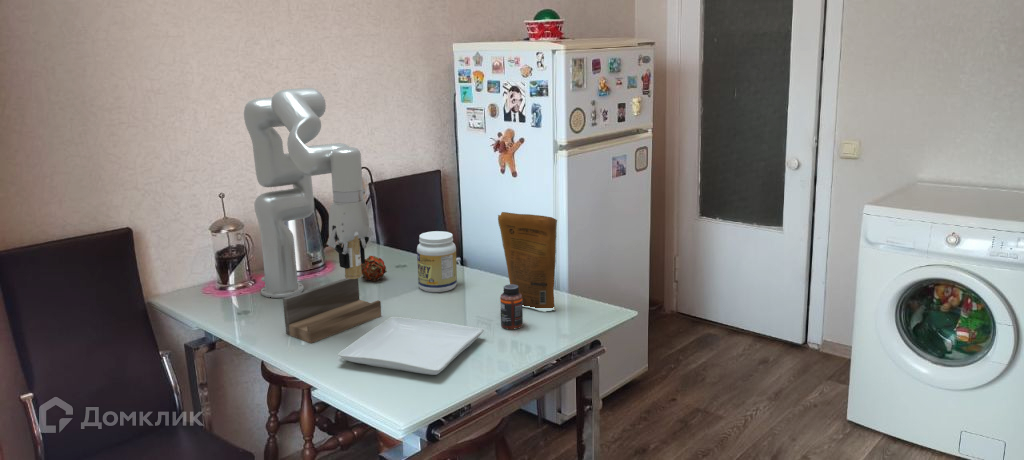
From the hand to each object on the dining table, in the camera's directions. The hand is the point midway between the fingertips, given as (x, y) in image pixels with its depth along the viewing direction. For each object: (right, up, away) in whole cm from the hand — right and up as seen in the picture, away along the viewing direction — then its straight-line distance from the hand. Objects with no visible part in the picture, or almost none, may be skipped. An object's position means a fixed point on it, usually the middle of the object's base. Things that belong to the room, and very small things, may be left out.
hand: (352, 264), depth 190 cm
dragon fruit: (-4, -7, +49) cm, 49 cm away
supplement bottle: (+41, -17, +8) cm, 46 cm away
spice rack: (-7, -17, +10) cm, 21 cm away
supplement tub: (+18, -9, +40) cm, 45 cm away
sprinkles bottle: (0, -3, +1) cm, 4 cm away
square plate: (+17, -22, -8) cm, 29 cm away
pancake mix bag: (+47, -13, +22) cm, 53 cm away
